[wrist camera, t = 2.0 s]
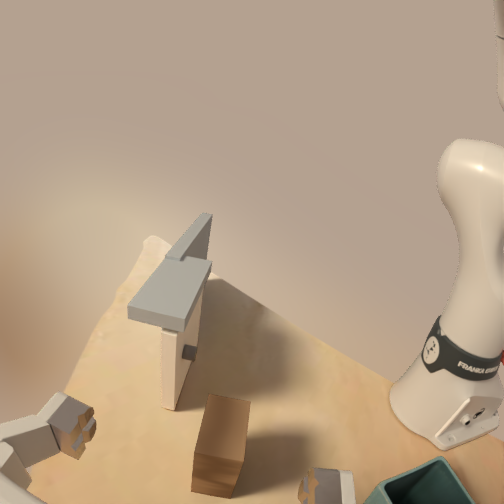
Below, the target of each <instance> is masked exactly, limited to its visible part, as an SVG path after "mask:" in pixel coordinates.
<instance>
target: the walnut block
mask: <svg viewBox="0 0 504 504" xmlns="http://www.w3.org/2000/svg"><path fill="white" fill-rule="evenodd" d="M249 411H250V401H244V400H238V399H233V398H228V397H222V396H217V395H213V394H209V395H208V399H207V403H206V407H205V411H204V415H203V419H202V423H201V427H200V431H199V435H198V439H197V443H196V447H195V452H194V461H193V473H192V485H191V492H195V493H200V494H205V495H210V496H216V497H222V498H228V499H230V498H231V495H232V492H233V490H234V487H235V484H236V482H237V479H238V476H239V473H240V471H241V468H242V465H243V462H244V455H245V447H246V438H247V429H248V420H249Z"/></svg>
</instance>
